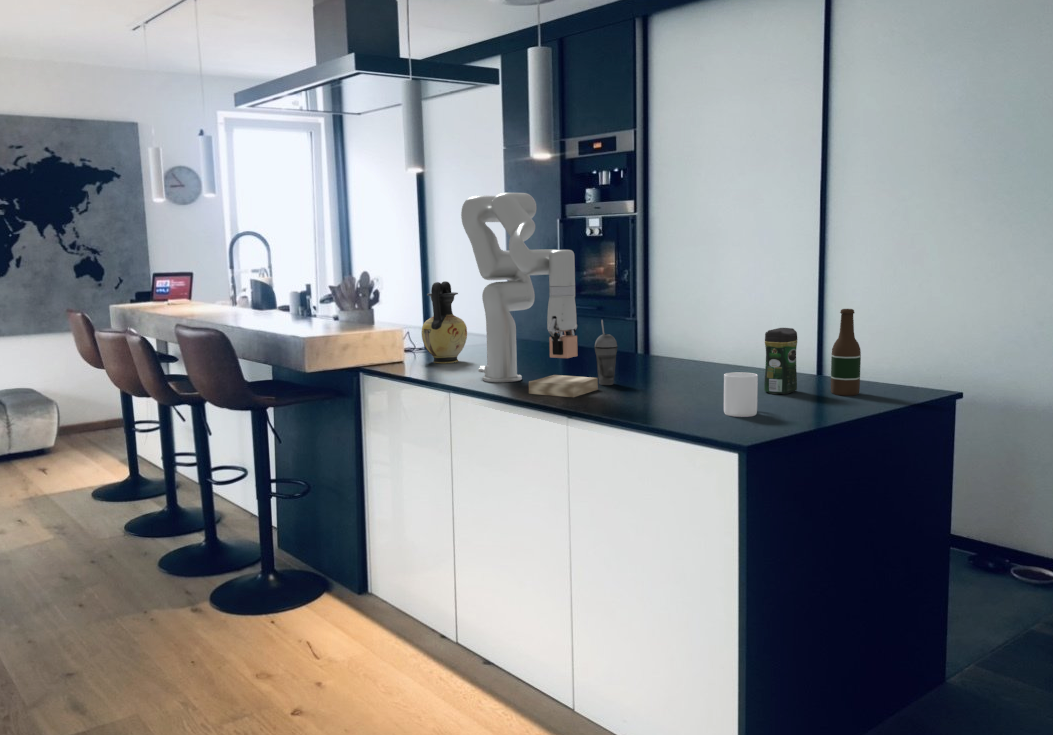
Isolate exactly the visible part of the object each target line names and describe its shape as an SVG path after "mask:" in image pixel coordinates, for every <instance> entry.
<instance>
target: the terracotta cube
mask: <svg viewBox="0 0 1053 735" xmlns="http://www.w3.org/2000/svg"><path fill="white" fill-rule="evenodd" d="M558 336H559V334H558ZM548 339H549V341H548V342H549V358H555V359H556V358H557V359H570V358H573V357H574V358H575V357H578V335H575V336H570V335H565V334H562V340H561V341H563V355H553V344H552V340H551V336H549V338H548Z"/></svg>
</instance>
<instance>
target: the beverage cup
mask: <svg viewBox="0 0 1053 735" xmlns="http://www.w3.org/2000/svg"><path fill="white" fill-rule="evenodd" d="M600 321H601V330H602V334H600V335H599V336H598V337H597V338H596V340H595V343H594V347H593V348H594V352H595V355H596V358H595V359H596V368H597V378H598V385H602V386H612V385H614V383H615V382H614V380H615V370H616V361H617V360H616V358H617V352H618V343H617V340H616V339H615V337H614V336H613V335H612V334H608V333H605V328H604V327H605V326H604V320H603V319H601V320H600Z"/></svg>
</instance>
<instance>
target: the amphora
mask: <svg viewBox="0 0 1053 735" xmlns="http://www.w3.org/2000/svg"><path fill="white" fill-rule="evenodd" d="M456 295H459V292H455V291H453V292H452V285H451V283H450V282H449V281H441V282H439V281H436V282H435V281H434V282H433V284H432V286H431V292H430V293H427V294H426V296H429V297H430V299H431V300H430V301H431V303H432V311H433V312H432V313H433V316H431V317H430V318H428V319H427V320H425V321H424V323H423V324H422V327H421V340H422V342H423V345H424V347H425V349H426V351H427V352H428V353H429V354H430V355H431V356H432V357H433V363H434V364H454V362H455V363H458V362H459V359H458V356H459V355H460V353H461V352H463V349H464V348H465V345H466V342H467V339H468V328H467V324H466V322H465V321H464V320H463V319H462V318H460V317H459V316H456V315H454V314H453V309H452V308H453V307H452V303H454V300H455V297H456Z"/></svg>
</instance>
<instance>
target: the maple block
mask: <svg viewBox="0 0 1053 735" xmlns="http://www.w3.org/2000/svg"><path fill="white" fill-rule="evenodd" d="M598 385H599V379H598V377H593V376H592V377H591V376H589V377H587V376H576V375H562V374H561V375H560V374H553V375H548V376H545V377H541V378H537V379H534V380H529V381H528V394H529V395H530V394H531V395H542V396H553V397H566V398H576V397H579V396H582V395H585V394H588V393H591V392H594V391H598V388H599V387H598Z"/></svg>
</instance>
